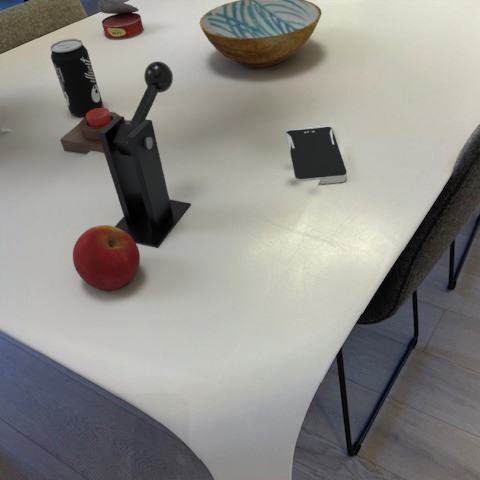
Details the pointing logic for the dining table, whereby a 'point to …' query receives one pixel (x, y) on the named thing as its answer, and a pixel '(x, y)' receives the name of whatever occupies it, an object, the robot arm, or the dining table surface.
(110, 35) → the canned food
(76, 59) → the beverage can
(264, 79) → the dining table surface
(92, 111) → the button
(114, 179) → the black lever stand
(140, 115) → the black ball lever
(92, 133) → the button block
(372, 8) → the dining table surface
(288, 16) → the bowl
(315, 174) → the smartphone
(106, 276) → the apple
